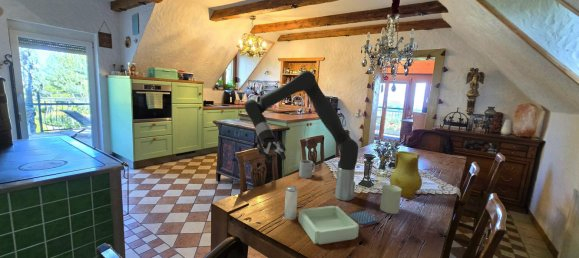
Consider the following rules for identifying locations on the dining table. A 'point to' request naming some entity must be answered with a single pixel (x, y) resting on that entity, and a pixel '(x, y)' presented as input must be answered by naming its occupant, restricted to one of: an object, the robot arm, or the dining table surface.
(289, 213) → the salt shaker
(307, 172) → the mug
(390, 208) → the can
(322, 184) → the dining table surface
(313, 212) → the sage bin
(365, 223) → the woven mat
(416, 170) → the pitcher
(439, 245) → the dining table surface
